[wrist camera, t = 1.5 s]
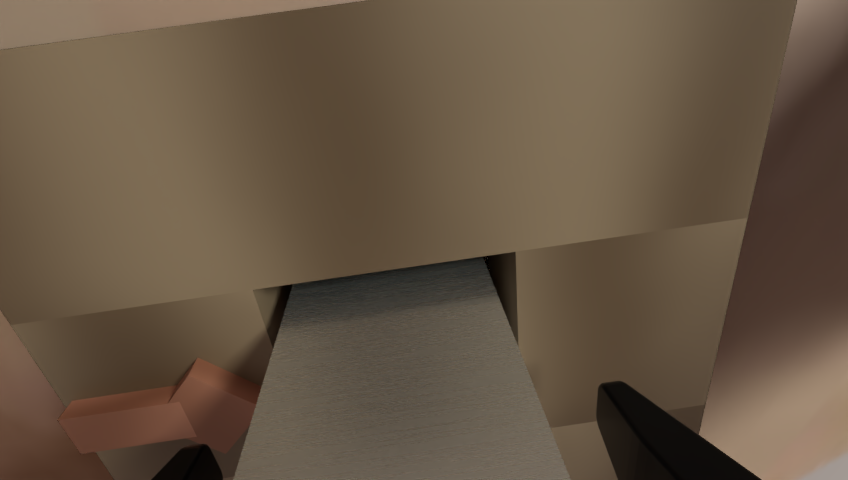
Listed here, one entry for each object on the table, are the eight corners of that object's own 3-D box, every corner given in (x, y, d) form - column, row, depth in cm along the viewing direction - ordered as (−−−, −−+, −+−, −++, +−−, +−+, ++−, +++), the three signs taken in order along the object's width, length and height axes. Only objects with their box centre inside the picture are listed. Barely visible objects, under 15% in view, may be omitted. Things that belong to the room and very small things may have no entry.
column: (466, 213, 12) (598, 542, 5) (477, 339, 14) (581, 710, 7) (306, 236, 12) (191, 606, 5) (338, 359, 14) (294, 757, 6)
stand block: (690, -43, 9) (840, -63, 6) (630, 430, 16) (689, 534, 13) (-4, 50, 9) (-198, 76, 6) (222, 493, 16) (183, 614, 13)
